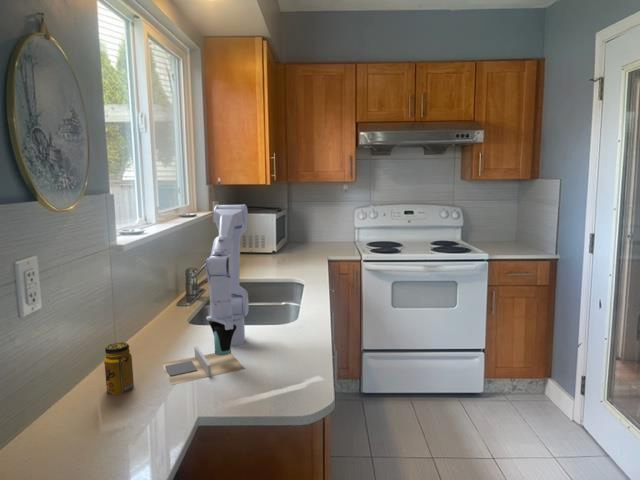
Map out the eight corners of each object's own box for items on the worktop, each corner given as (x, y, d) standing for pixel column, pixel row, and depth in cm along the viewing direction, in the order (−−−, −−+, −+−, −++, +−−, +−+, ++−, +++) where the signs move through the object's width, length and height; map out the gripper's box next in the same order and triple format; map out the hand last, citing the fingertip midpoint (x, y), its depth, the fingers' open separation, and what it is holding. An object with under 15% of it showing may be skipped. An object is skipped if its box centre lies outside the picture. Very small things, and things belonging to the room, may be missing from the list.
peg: (213, 351, 123) (212, 330, 122) (228, 348, 125) (227, 327, 124) (217, 356, 119) (216, 335, 118) (233, 353, 121) (232, 332, 120)
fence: (194, 356, 127) (194, 346, 127) (197, 356, 127) (197, 346, 127) (208, 376, 114) (207, 365, 114) (211, 376, 114) (210, 364, 114)
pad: (165, 366, 120) (165, 365, 120) (191, 361, 124) (191, 360, 124) (170, 376, 114) (169, 375, 114) (197, 370, 118) (197, 369, 118)
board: (161, 366, 123) (161, 363, 123) (228, 353, 132) (228, 350, 132) (171, 388, 110) (171, 384, 110) (245, 372, 119) (245, 368, 119)
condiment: (98, 396, 107) (94, 348, 105) (127, 381, 114) (123, 336, 113) (120, 402, 104) (117, 352, 102) (148, 386, 111) (145, 340, 110)
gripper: (199, 295, 125) (201, 341, 126) (213, 308, 112) (215, 359, 114) (224, 292, 128) (226, 337, 130) (240, 304, 115) (242, 354, 117)
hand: (222, 347), depth 122 cm, fingers closed on peg, 4 cm apart
